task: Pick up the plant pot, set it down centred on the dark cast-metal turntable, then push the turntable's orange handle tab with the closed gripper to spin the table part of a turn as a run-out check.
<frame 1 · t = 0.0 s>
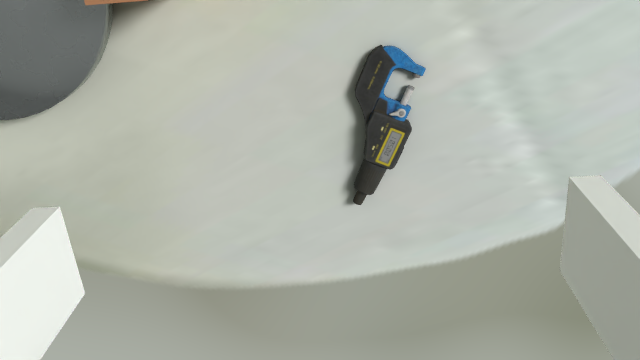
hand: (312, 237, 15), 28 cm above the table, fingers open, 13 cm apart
micrometer: (373, 124, 44), on the table
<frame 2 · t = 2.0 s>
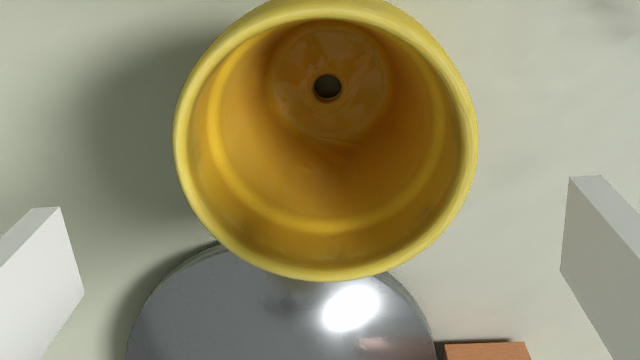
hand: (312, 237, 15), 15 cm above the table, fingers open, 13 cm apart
plant pot: (330, 80, 29), on the table
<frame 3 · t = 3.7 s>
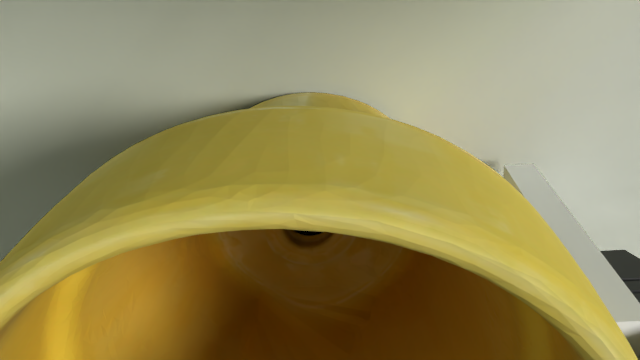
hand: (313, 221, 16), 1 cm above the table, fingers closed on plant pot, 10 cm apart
plant pot: (314, 203, 17), on the table, touching gripper
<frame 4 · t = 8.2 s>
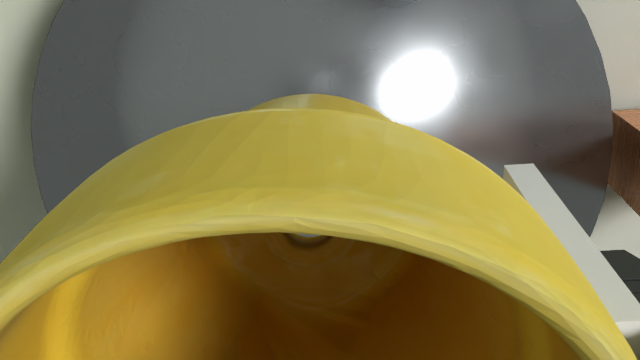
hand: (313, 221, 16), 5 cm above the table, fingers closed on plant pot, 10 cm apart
turntable: (401, 198, 17), point 4 cm above the table, hinge at 0.0°
plant pot: (314, 204, 17), point 4 cm above the table, touching gripper
when the fingers open (4 cm above the table, at t = 8.8 s): plant pot drops 1 cm, resting on turntable.
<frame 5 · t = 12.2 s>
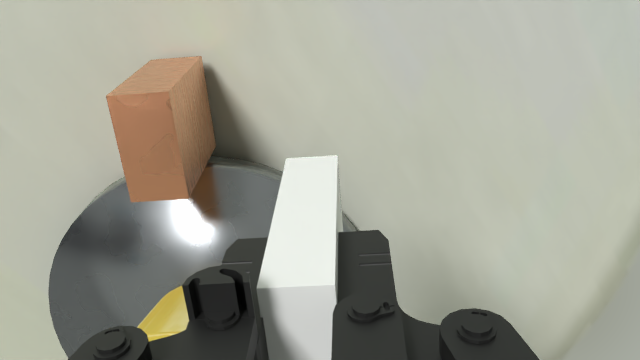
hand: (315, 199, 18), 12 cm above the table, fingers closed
turntable: (202, 298, 30), point 4 cm above the table, hinge at 0.0°, touching plant pot
plant pot: (216, 327, 33), point 2 cm above the table, touching turntable
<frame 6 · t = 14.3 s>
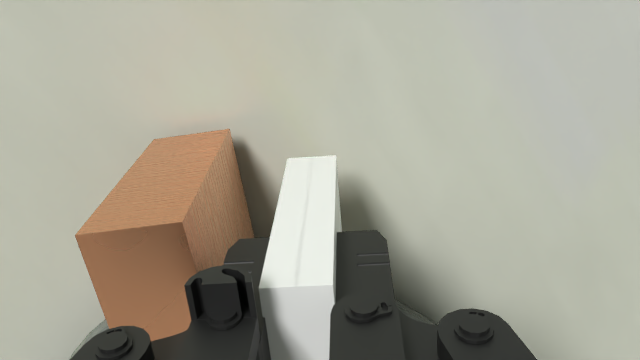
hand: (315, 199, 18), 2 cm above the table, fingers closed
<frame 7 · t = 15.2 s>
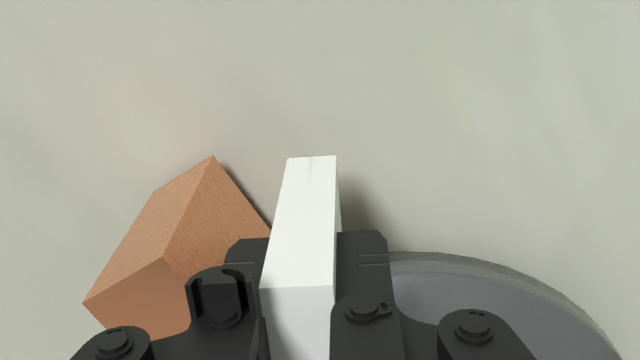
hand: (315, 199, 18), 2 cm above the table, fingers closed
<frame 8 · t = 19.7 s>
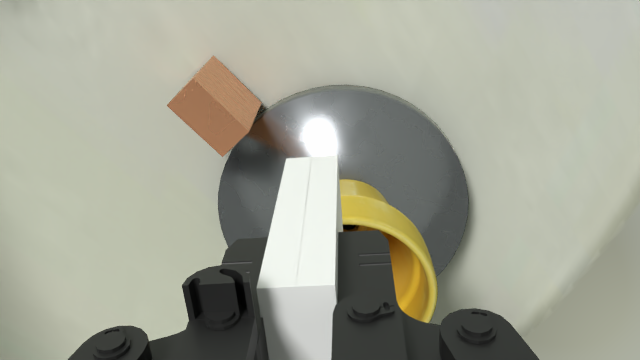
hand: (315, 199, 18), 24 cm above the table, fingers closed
turntable: (317, 198, 41), point 4 cm above the table, hinge at 39.2°, touching plant pot
plant pot: (346, 217, 43), point 2 cm above the table, touching turntable
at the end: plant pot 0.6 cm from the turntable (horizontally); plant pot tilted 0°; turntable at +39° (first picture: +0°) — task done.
